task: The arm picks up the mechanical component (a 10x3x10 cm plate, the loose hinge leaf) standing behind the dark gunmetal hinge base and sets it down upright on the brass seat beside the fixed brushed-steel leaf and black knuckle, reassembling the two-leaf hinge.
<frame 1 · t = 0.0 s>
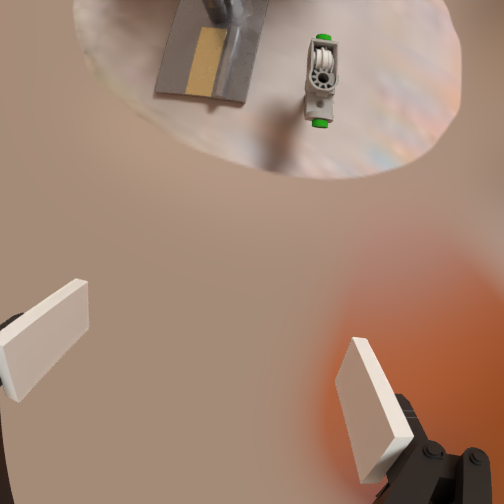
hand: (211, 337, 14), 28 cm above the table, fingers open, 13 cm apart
hinge base: (216, 26, 34), on the table
mechanical component: (310, 97, 37), on the table
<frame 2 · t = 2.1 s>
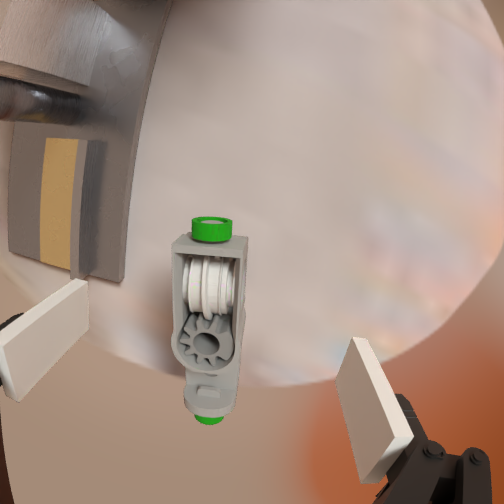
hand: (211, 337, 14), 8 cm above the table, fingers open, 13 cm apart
hinge base: (72, 129, 20), on the table
mechanical component: (231, 267, 23), on the table
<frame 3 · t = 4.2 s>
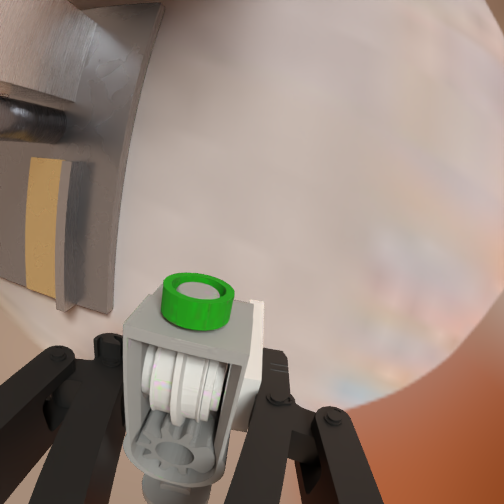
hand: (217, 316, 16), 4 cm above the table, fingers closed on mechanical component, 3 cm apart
hinge base: (57, 148, 19), on the table
mechanical component: (219, 310, 17), point 3 cm above the table, touching gripper
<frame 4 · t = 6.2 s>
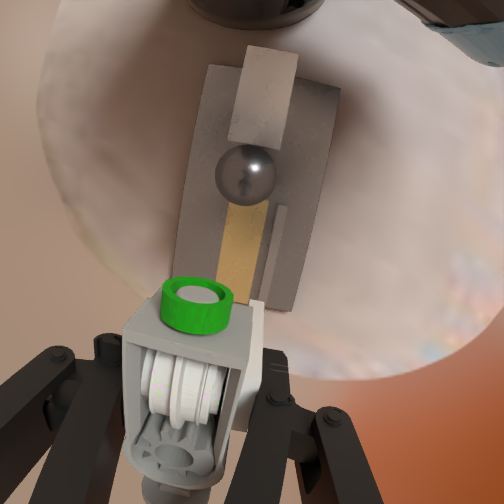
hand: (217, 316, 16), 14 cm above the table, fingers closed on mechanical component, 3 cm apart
hinge base: (252, 187, 29), on the table
mechanical component: (219, 312, 17), point 14 cm above the table, touching gripper
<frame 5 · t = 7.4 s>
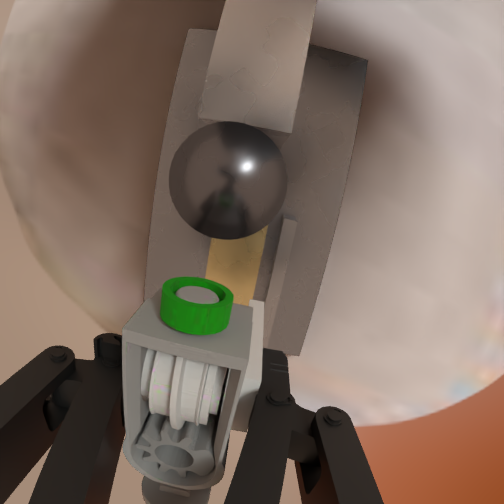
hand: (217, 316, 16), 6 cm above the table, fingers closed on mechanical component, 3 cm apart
hinge base: (247, 193, 21), on the table
mechanical component: (219, 312, 17), point 6 cm above the table, touching gripper
when the fingers open (2 cm above the table, at t = 8.5 s): mechanical component stays where it is, resting on hinge base.
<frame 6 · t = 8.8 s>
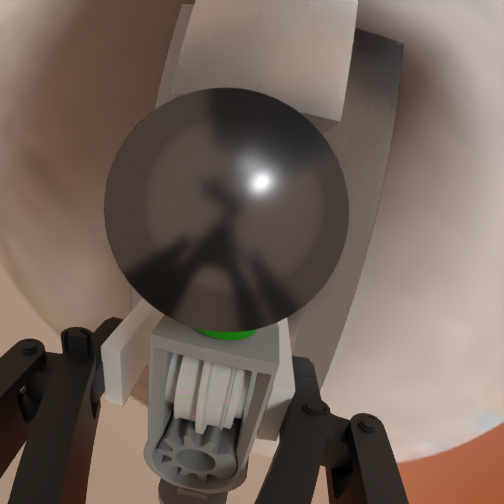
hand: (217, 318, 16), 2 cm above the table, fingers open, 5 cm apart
hinge base: (255, 208, 16), on the table
mechanical component: (235, 315, 17), point 1 cm above the table, touching hinge base
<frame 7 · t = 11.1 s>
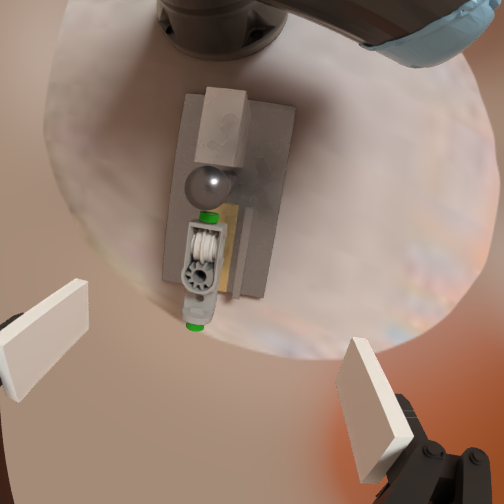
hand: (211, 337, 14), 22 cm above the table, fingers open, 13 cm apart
hinge base: (225, 195, 35), on the table
mechanical component: (217, 247, 35), point 1 cm above the table, touching hinge base
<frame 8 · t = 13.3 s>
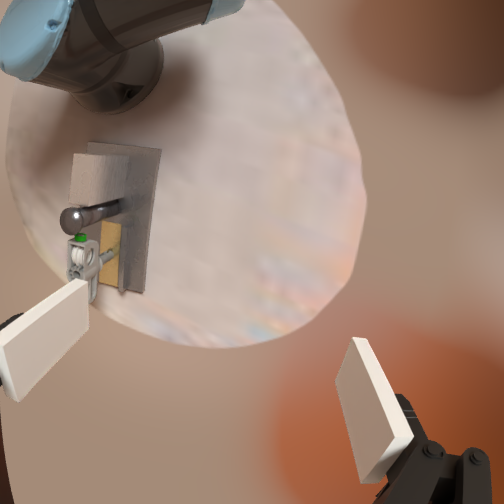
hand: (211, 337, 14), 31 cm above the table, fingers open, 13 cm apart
hinge base: (115, 216, 45), on the table
mechanical component: (110, 254, 45), point 1 cm above the table, touching hinge base
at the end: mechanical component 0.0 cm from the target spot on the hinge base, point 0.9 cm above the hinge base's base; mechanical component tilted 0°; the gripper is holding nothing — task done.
